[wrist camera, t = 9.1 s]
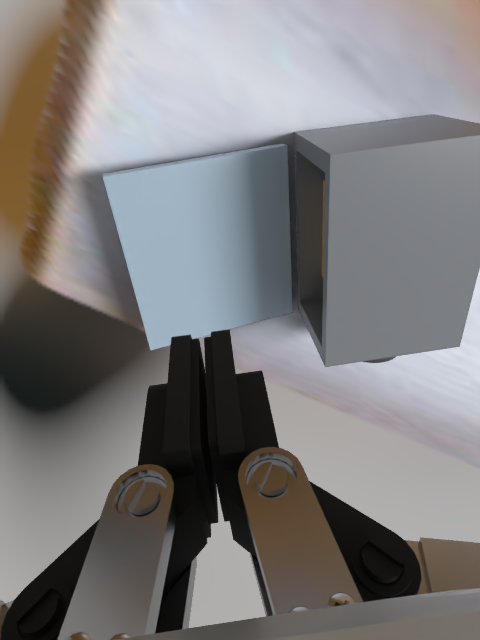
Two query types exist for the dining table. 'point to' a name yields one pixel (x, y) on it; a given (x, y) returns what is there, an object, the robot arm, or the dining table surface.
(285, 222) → the side door
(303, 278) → the block
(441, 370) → the dining table surface
